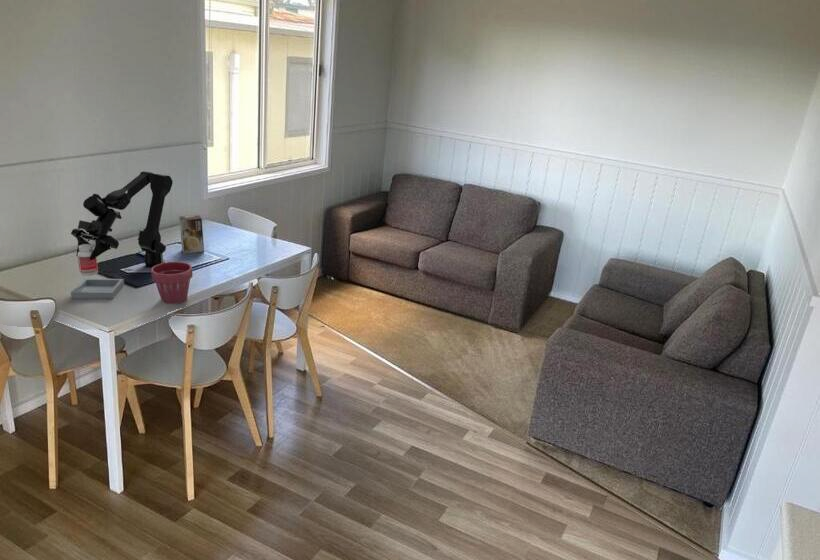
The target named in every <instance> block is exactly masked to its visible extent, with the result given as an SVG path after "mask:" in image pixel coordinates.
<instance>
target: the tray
mask: <svg viewBox="0 0 820 560" xmlns="http://www.w3.org/2000/svg"><path fill="white" fill-rule="evenodd" d="M124 286H125V279H124V278H84V279H82V280H81V281H80V283H78V285H77V286H76V287H75V288H74V289H73V290H71V292H70V296H71V299H74V300H75V299H76V300H114V299H115V297H116V296H117V295H118V294H119V292H120V291H121V290H122V288H124Z"/></svg>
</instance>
